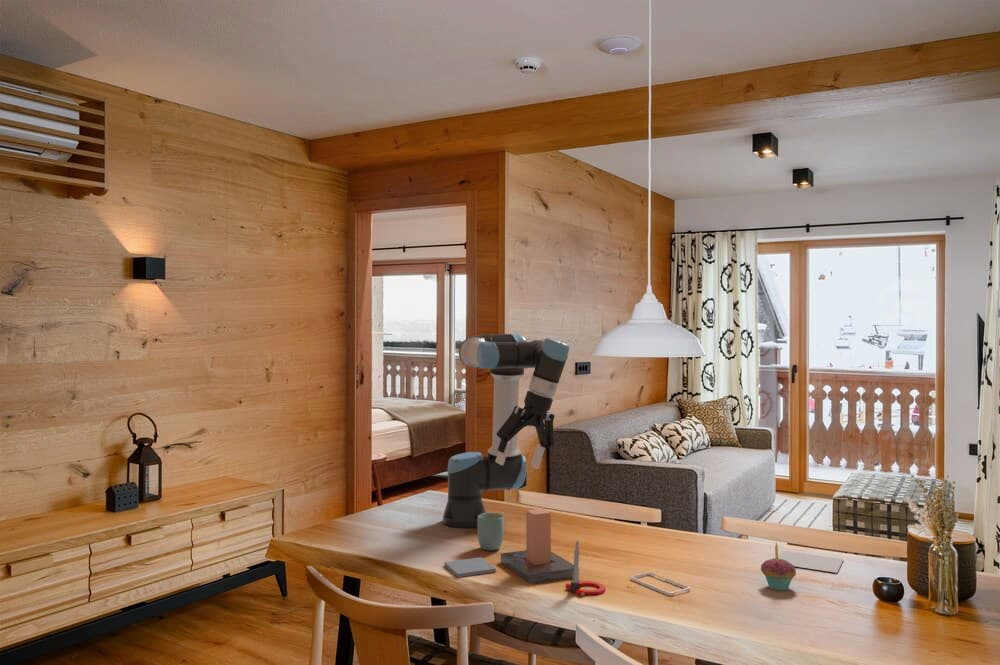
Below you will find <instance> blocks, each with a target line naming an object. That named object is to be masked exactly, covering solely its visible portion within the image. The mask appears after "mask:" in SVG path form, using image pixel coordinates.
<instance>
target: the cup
mask: <svg viewBox="0 0 1000 665" xmlns="http://www.w3.org/2000/svg"><path fill="white" fill-rule="evenodd" d="M504 520H505V519H504V515H503V514H502V513H497V512H486V513H483V514H480V515H478V518H477V527H476V528H477V529H476V530H477V542H478V545H479V547H480V548H481V549H482V550H483V551H487V552H488V551H491V552H493V551H497V550H499V549H501V547H502V545H503V541H504V532H505V531H504V529H505V528H504V527H505V526H504V524H505V523H504V522H505V521H504Z"/></svg>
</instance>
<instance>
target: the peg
mask: <svg viewBox="0 0 1000 665" xmlns="http://www.w3.org/2000/svg"><path fill="white" fill-rule="evenodd" d="M525 511H526V512H525V514H526V516H525V517H526V518H525V520H526V523H525V524H526V528H525V529H526V530H525V531H526V533H525V534H526V540H525V541H526V543H525V544H526V562H528V563H530V564H531V565H540V564H547V563H551V552H552V542H551V541H552V539H551V538H552V535H551V534H552V529H551V528H552V525H551V524H552V520H551V519H552V517H551V516H552V514H551V512H550V511H548V510H546V509H544V508H537V509H528V510H525Z"/></svg>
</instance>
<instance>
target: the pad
mask: <svg viewBox="0 0 1000 665" xmlns="http://www.w3.org/2000/svg"><path fill="white" fill-rule="evenodd" d="M443 563H444V565H445V566H446V567H447V568H446V567H445V566H444V565H443V566H444V567H445V568H446V569H447V570H448V571H449V572H451V573H452V574H453V575H454V574H455V575H454V576H456V578H464V577H463V576H465V577H471V575H472V576H478V575H477V574H480V575H486V574H485V573H487V574H491V573H492V574H493V572H494V573H496V572H497V568H496V567H494V566H493V565H492V564H490V563H489V562H488V561H486V560H485V559H484V558H482V557H481V556H479V557H474V558H465V559H459V560H458V559H457V560H449V561H444V562H443Z"/></svg>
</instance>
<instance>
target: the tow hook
mask: <svg viewBox="0 0 1000 665" xmlns="http://www.w3.org/2000/svg"><path fill="white" fill-rule="evenodd" d="M579 544H580V541H577V540H576V541H575V549H574V551H573V552H574V553H573V555H574V556H573V565H574V572H573V576H572V578H571V579H572V581H570V583H569V582H567V583H566V584H565V586H564V587H565V589H566V590H568V591H570V592H571V593H573V594H575V595H578V596H581V597H582V596H583V597H585V595H589V596H590V595H591V596H593V595H595V594H597V595H601V594H600V593H602V594H604V593H605V592H606V586H605V585H603V584H602V583H599V582H597V581H596V582H595V581H590V580H589V581H587V580H584V581H583V580H581V581H580V571H579V572H578V567H579V568H580V566H579V563H580V549H579ZM593 586H595V587H594V588H597V587H598V588H597V589H585V588H582V589H581V587H593ZM603 592H604V593H603Z"/></svg>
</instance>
